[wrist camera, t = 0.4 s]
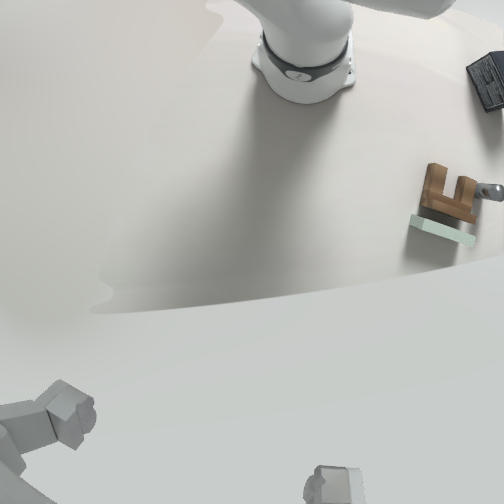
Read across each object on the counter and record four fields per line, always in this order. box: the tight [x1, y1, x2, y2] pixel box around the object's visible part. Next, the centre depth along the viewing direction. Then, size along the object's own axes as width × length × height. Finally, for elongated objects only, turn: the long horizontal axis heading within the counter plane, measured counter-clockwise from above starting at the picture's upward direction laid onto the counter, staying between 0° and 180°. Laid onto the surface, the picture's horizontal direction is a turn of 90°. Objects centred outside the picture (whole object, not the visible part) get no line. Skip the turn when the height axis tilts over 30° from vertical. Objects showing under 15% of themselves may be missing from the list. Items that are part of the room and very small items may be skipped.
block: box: [420, 163, 477, 224], centre depth 44 cm, size 8×10×6 cm
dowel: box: [474, 183, 504, 202], centre depth 41 cm, size 3×3×8 cm
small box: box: [466, 51, 504, 113], centre depth 35 cm, size 11×6×10 cm, turn 23°
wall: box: [409, 214, 476, 247], centre depth 46 cm, size 2×12×6 cm, turn 78°
